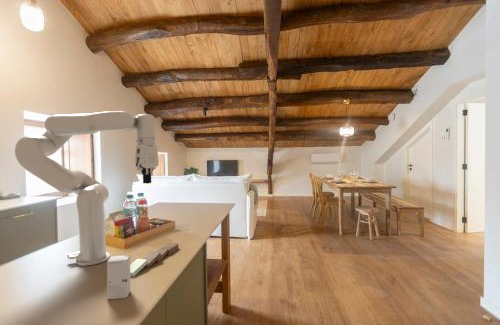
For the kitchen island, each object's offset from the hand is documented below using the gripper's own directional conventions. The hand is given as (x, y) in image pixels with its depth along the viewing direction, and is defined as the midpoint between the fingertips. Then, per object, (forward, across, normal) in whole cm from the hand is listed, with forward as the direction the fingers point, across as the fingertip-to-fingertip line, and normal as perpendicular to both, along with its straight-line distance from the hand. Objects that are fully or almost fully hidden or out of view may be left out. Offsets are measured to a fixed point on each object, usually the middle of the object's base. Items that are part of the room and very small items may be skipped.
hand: (147, 183), depth 116 cm
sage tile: (+31, -20, -8) cm, 38 cm away
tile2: (+31, -7, -8) cm, 33 cm away
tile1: (+31, -13, -8) cm, 35 cm away
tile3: (+31, +1, -8) cm, 32 cm away
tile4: (+32, +1, -8) cm, 33 cm away
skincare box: (+32, -31, -16) cm, 47 cm away
